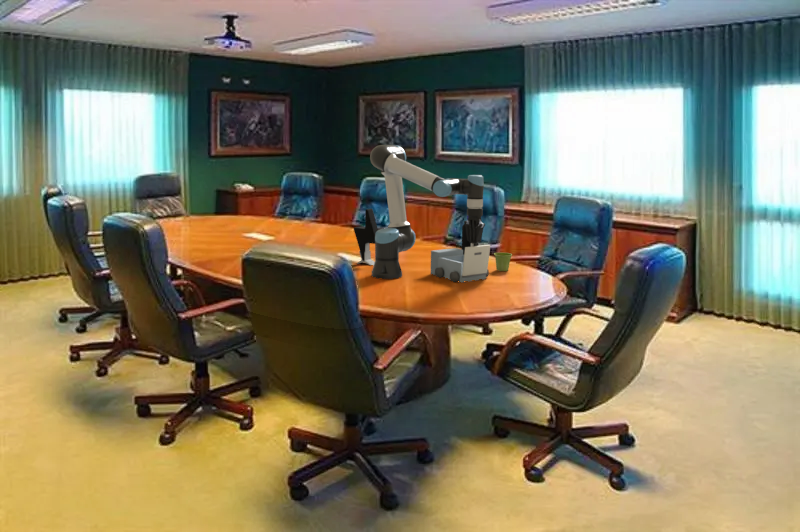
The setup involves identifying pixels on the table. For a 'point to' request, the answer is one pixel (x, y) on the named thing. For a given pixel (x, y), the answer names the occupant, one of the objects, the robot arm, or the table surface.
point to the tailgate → (475, 261)
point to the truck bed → (450, 265)
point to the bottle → (464, 238)
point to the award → (366, 237)
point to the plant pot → (502, 261)
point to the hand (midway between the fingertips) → (473, 256)
